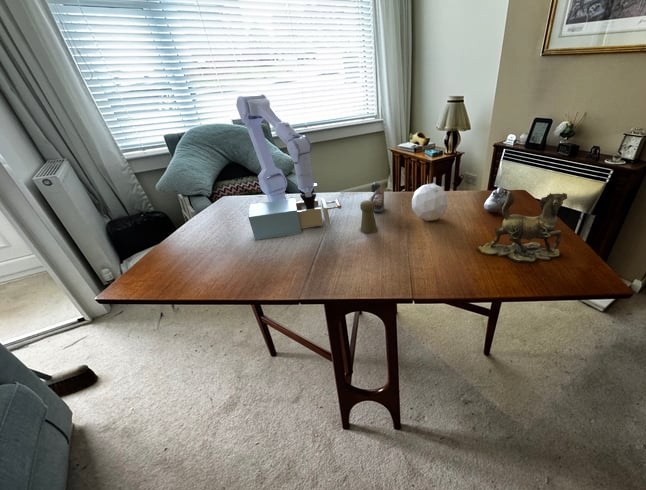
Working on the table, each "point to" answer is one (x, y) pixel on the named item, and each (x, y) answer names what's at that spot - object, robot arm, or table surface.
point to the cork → (368, 217)
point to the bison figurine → (377, 197)
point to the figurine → (528, 232)
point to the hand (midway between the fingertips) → (310, 209)
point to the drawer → (314, 213)
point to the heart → (496, 200)
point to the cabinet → (274, 219)
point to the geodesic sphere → (429, 202)
